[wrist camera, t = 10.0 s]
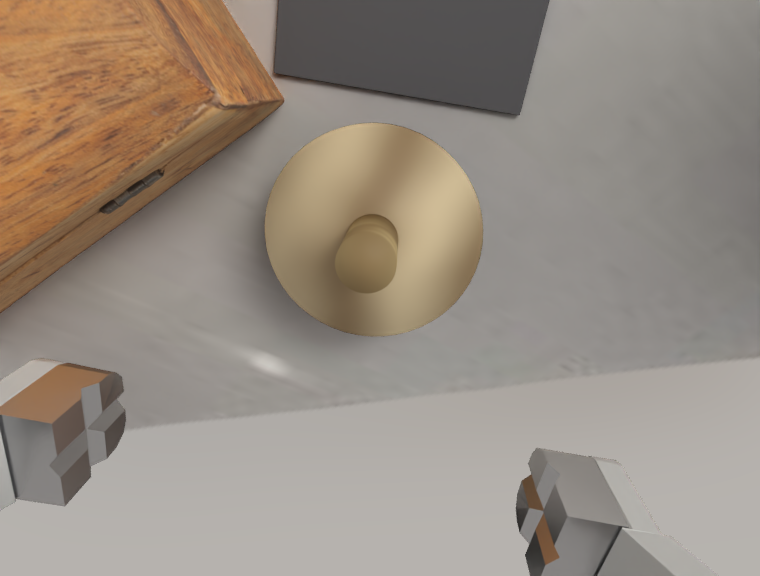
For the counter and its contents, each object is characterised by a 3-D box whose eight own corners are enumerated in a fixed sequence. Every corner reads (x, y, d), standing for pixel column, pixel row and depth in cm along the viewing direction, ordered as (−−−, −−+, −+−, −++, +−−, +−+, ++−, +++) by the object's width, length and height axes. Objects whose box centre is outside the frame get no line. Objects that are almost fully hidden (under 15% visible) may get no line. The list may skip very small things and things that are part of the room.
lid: (504, 143, 21) (531, 152, 17) (453, 342, 25) (464, 394, 21) (277, 104, 21) (241, 102, 17) (264, 310, 25) (232, 355, 21)
